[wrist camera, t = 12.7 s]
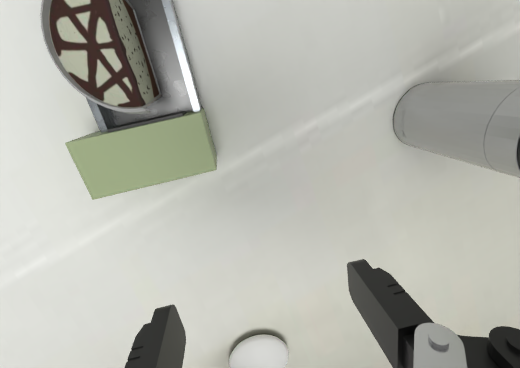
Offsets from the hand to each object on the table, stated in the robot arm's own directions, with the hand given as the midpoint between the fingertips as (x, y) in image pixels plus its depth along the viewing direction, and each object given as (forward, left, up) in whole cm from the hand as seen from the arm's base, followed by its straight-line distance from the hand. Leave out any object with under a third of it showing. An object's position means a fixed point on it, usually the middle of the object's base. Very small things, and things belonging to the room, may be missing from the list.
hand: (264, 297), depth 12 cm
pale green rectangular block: (+9, -4, -27) cm, 29 cm away
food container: (+10, -14, -27) cm, 32 cm away
